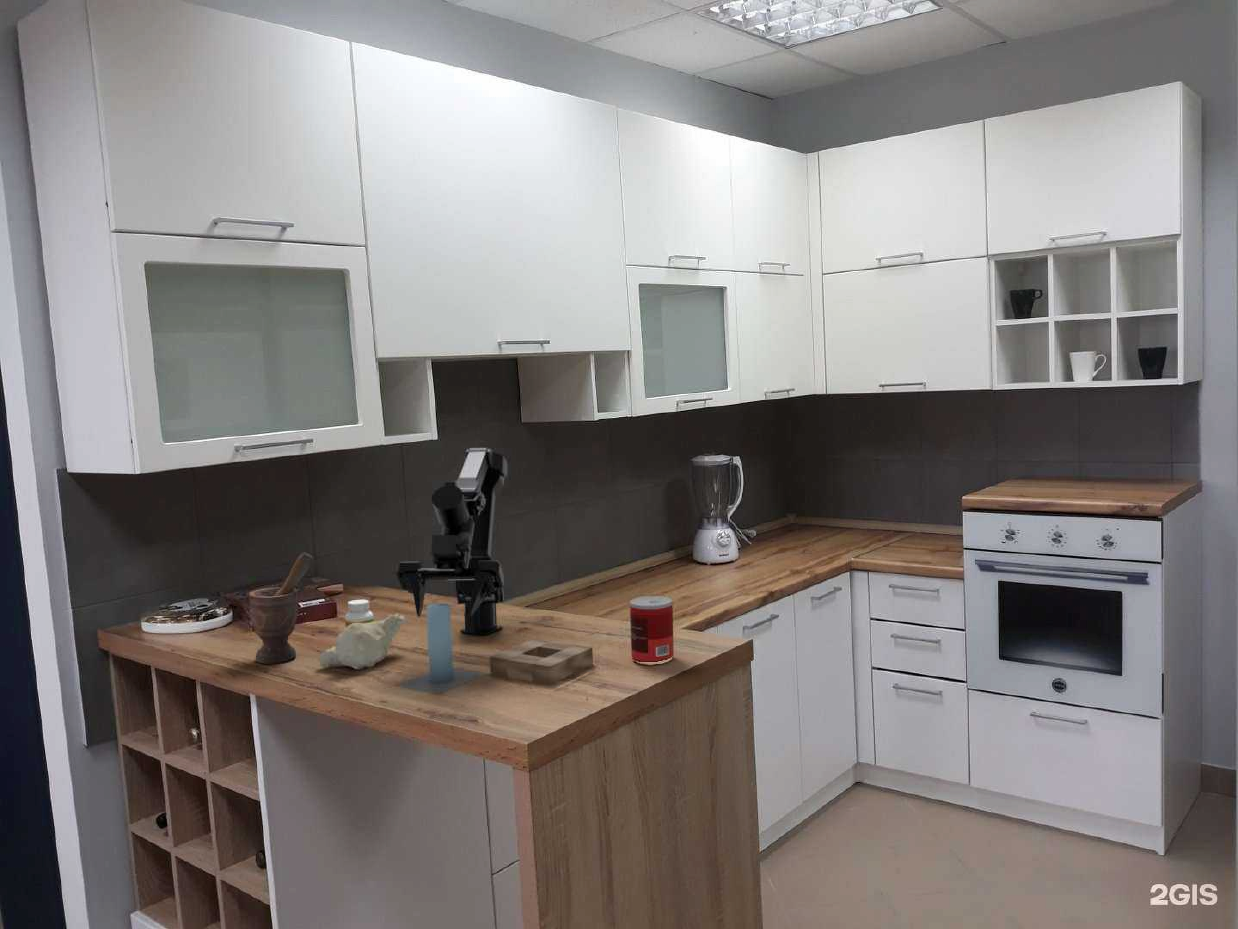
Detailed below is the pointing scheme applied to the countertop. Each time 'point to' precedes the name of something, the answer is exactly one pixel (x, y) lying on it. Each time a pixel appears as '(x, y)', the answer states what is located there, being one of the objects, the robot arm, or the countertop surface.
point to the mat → (439, 688)
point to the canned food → (651, 628)
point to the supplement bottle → (358, 612)
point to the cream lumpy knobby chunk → (362, 643)
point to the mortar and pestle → (277, 615)
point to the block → (541, 661)
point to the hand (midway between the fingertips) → (444, 615)
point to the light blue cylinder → (439, 643)
